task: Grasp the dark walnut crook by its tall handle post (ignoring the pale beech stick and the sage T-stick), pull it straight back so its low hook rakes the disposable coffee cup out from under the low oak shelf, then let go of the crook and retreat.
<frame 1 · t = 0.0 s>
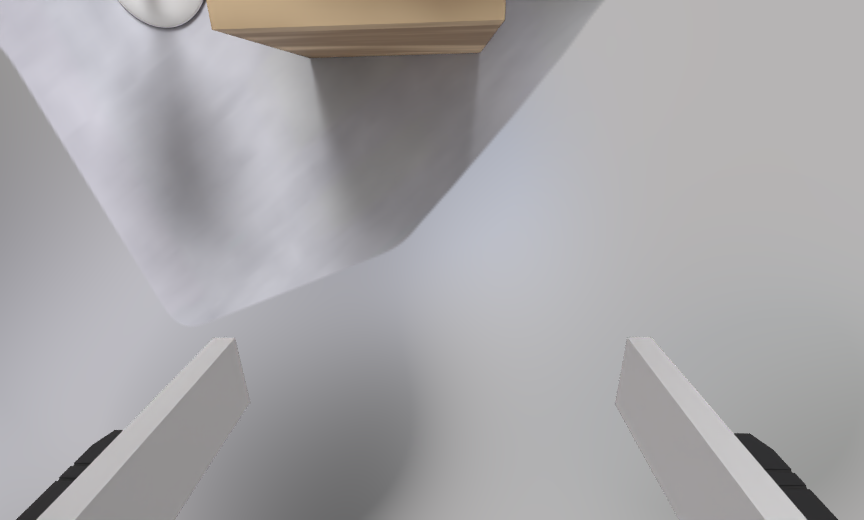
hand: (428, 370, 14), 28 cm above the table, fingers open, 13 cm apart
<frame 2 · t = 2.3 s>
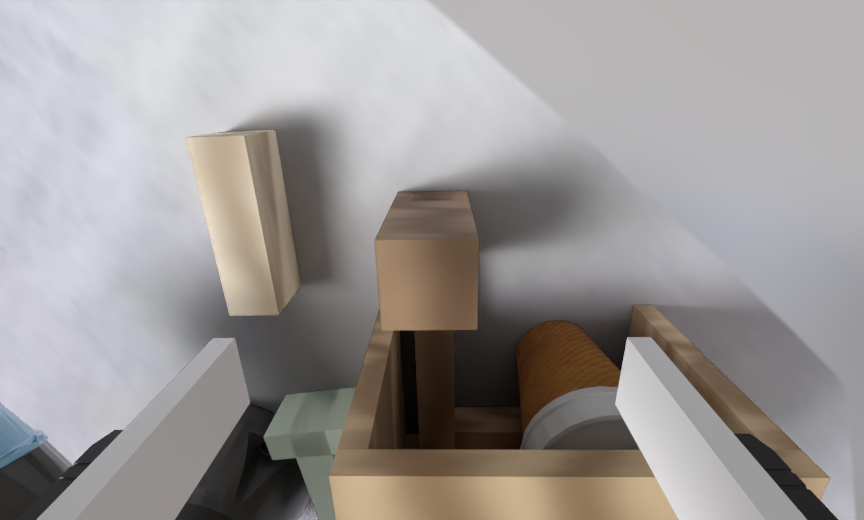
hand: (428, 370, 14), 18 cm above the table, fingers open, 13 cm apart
tee stick: (336, 432, 38), on the table
beech stick: (267, 213, 31), on the table
shelf: (510, 381, 36), on the table
disposable coffee cup: (552, 351, 35), on the table
crook: (435, 324, 34), on the table
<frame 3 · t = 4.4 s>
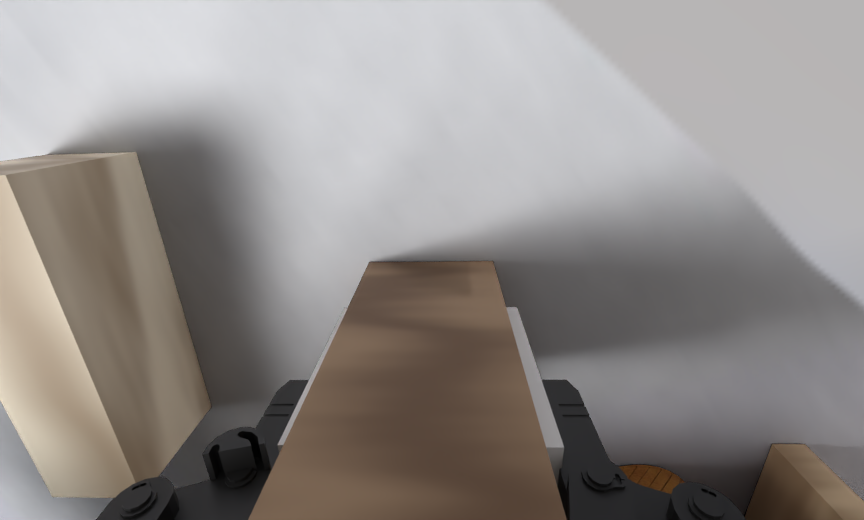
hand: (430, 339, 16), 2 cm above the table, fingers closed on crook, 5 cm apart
beech stick: (142, 294, 18), on the table
disposable coffee cup: (626, 504, 21), on the table
crook: (436, 465, 20), on the table, touching gripper
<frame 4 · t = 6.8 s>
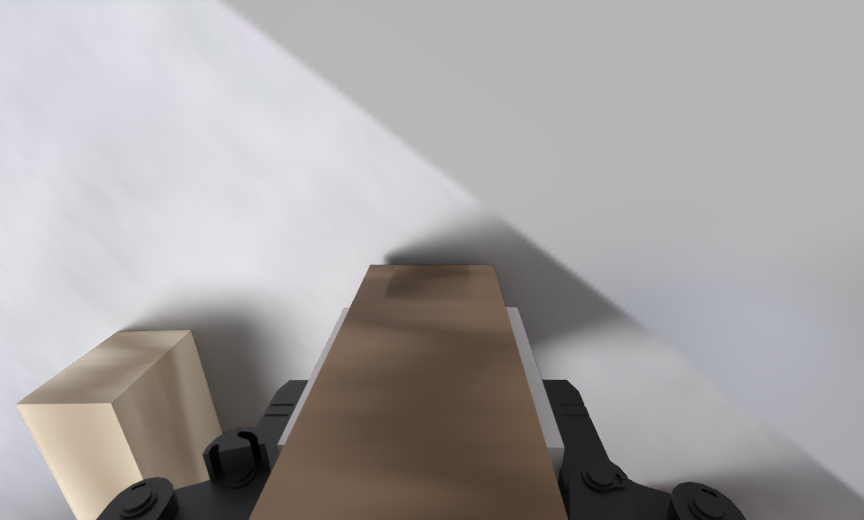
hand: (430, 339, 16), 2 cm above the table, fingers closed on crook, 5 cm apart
beech stick: (190, 427, 21), on the table
crook: (434, 470, 20), point 1 cm above the table, touching disposable coffee cup, gripper
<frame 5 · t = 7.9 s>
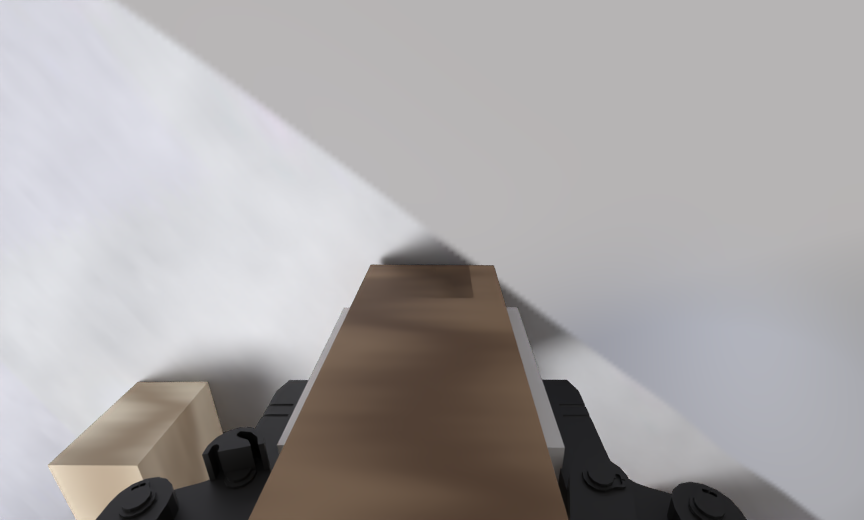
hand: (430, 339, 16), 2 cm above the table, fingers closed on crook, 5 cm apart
beech stick: (204, 469, 22), on the table
crook: (433, 470, 20), point 1 cm above the table, touching disposable coffee cup, gripper
when the fingers open (2 cm above the table, at t = 8.9 s): crook stays where it is, on the table.
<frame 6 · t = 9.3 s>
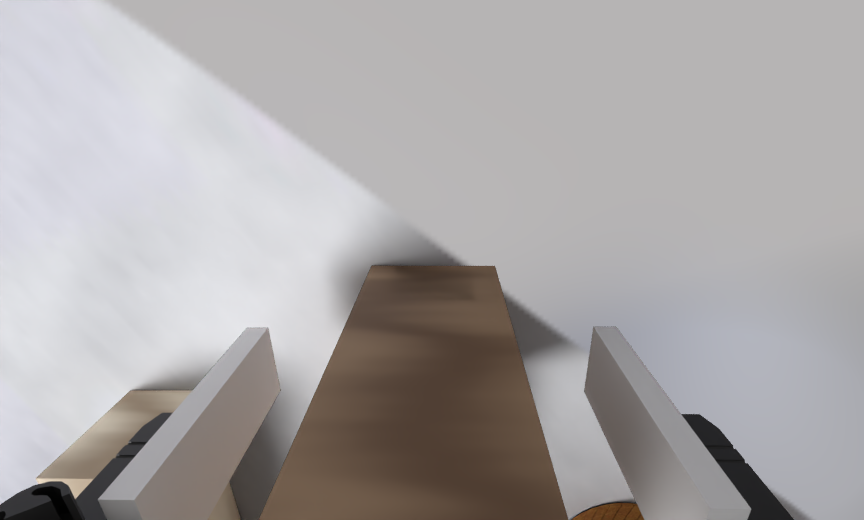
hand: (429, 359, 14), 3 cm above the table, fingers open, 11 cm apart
beech stick: (199, 478, 22), on the table
crook: (434, 468, 21), on the table
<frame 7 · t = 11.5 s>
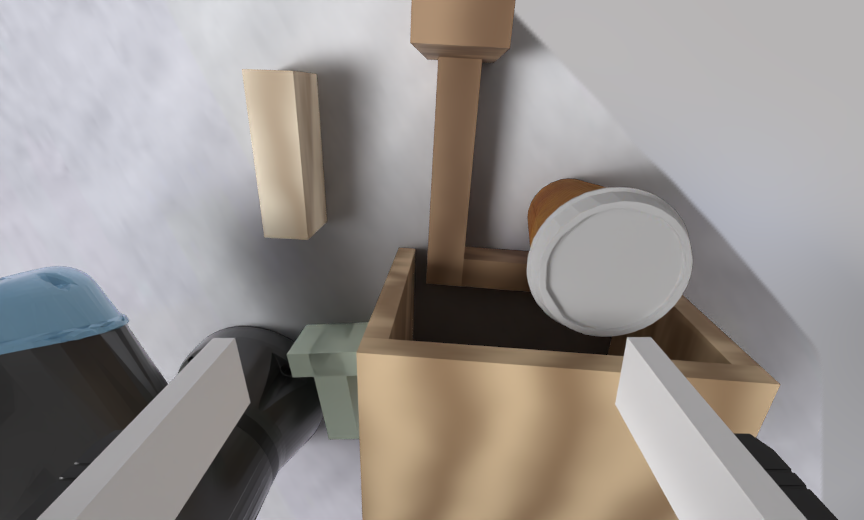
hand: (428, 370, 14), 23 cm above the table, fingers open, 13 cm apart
tee stick: (348, 364, 42), on the table
beech stick: (302, 151, 34), on the table
shelf: (511, 327, 39), on the table
disposable coffee cup: (564, 214, 35), on the table
crook: (454, 145, 33), on the table
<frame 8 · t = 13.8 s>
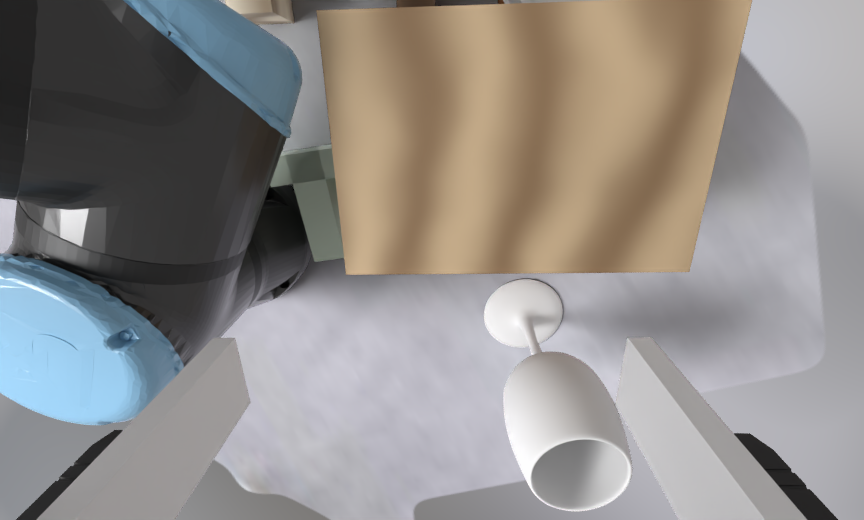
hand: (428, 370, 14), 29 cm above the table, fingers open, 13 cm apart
tee stick: (330, 196, 41), on the table
shelf: (492, 132, 38), on the table
wineglass: (522, 312, 45), on the table
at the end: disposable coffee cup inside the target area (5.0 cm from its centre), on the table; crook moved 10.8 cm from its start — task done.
